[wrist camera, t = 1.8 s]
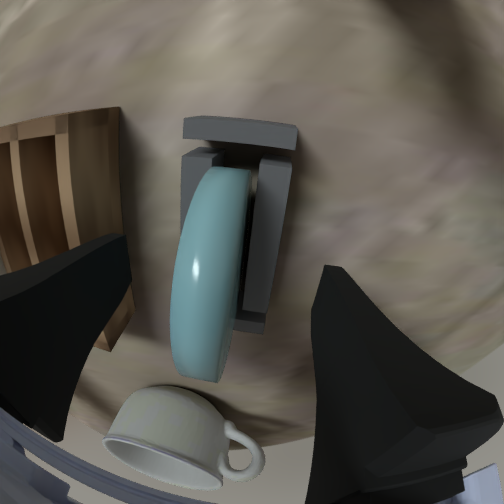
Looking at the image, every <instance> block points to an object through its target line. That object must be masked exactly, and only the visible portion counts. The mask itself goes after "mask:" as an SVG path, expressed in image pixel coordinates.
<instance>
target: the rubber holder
mask: <svg viewBox="0 0 504 504" xmlns="http://www.w3.org/2000/svg"><path fill="white" fill-rule="evenodd" d="M297 133H298V128H297V127H296V126H295V125H290V124H283V123H276V122H269V121H261V120H252V119H242V118H230V117H217V116H195V117H189V118H184V126H183V139H200V140H214V141H226V142H236V143H245V144H254V145H262V146H270V147H277V148H284V149H290V150H295V147H296V140H297ZM223 161H224V149H219V148H207V147H198V148H196V149H194V150H192V151H190V152H189V153H187V154H185V155H183V156H182V167H181V234H182V230H183V226H184V222H185V219H186V216H187V213H188V209H189V206H190V204H191V201H192V199H193V196H194V193H195V191H196V189H197V187H198V185H199V183H200V181H201V179H202V178H203V176H204V175H205V173H206V172H207V171H208V170H209V169H210V168H212V167H214V166H218V167H223ZM291 173H292V164H291V157H285V156H278V155H271V154H264V155H263V157H262V159H261V162H260V166H259V174H258V182H257V191H256V199H255V207H254V215H253V224H252V232H251V241H250V249H249V257H248V266H247V274H246V283H245V291H241V290H240V294H239V300H238V306H237V312H236V317H235V323H234V328H233V330H237V331H243V332H250V333H257V334H263V331H264V326H265V318H266V313H267V310H268V305H269V300H270V294H271V289H272V284H273V278H274V273H275V267H276V262H277V256H278V250H279V245H280V239H281V233H282V227H283V222H284V216H285V210H286V204H287V198H288V191H289V185H290V179H291Z"/></svg>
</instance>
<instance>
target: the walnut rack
mask: <svg viewBox="0 0 504 504" xmlns="http://www.w3.org/2000/svg"><path fill="white" fill-rule="evenodd" d="M110 233H117V234H123V235H124V231H123V221H122V210H121V196H120V178H119V107H109V108H99V109H90V110H82V111H75V112H68V113H62V114H56V115H51V116H46V117H40V118H36V119H31V120H27V121H22V122H18V123H14V124H10V125H7V126H3V127H0V254H1V257H2V260H3V263H4V266H5V269H6V272H7V273H11V272H14V271H18V270H21V269H23V268H26V267H29V266H32V265H35V264H37V263H40V262H42V261H45V260H47V259H49V258H52V257H54V256H56V255H59V254H61V253H63V252H66V251H68V250H70V249H73V248H75V247H77V246H79V245H82V244H84V243H86V242H88V241H91V240H93V239H96V238H98V237H101V236H104V235H107V234H110ZM135 311H136V310H135V305H134V299H133V294H132V288H131V283H130V285H129V288H128V290H127V292H126V294H125V296H124V298H123V300H122V302H121V303H120V305H119V306H118V308H117V309H116V311H115V312H114V314H113V316H112V317H111V319H110V320H109V322H108V323H107V325H106V326H105V328H104V329H103V331H102V333H101V334H100V336H99V337H98V339H97V340H96V342H95V344H94V347H97V348H100V349H103V350H106V351H109V352H111V351H112V349H113V347H114V346H115V344H116V342H117V340H118V339H119V337H120V335H121V334H122V332H123V330H124V329H125V327H126V325H127V324H128V322H129V320H130V319H131V317H132V315H133V314H134V312H135Z"/></svg>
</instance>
